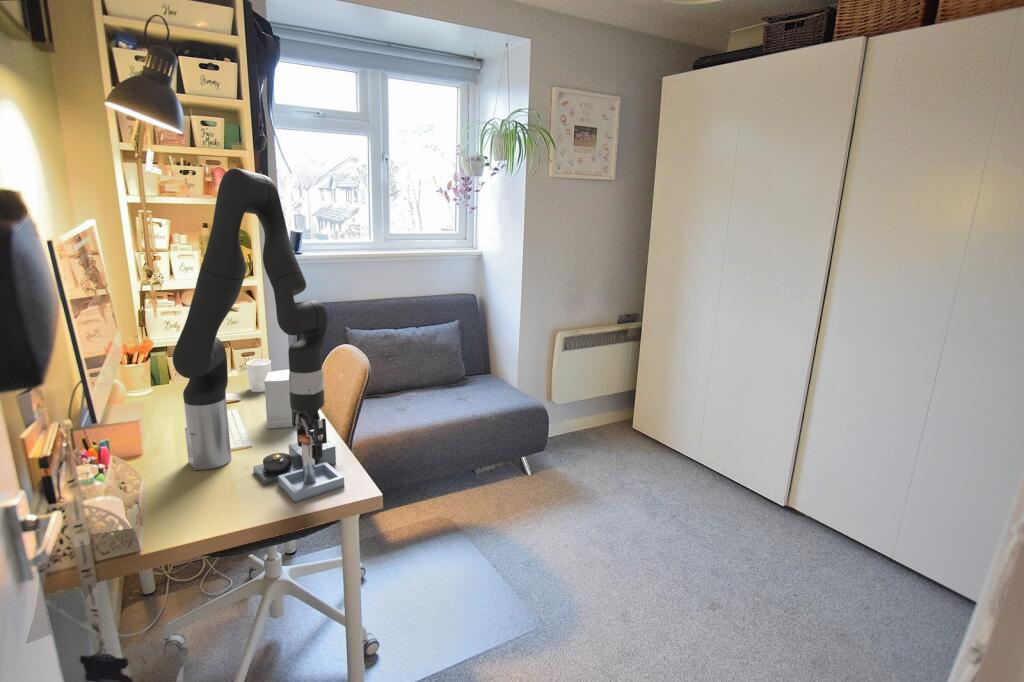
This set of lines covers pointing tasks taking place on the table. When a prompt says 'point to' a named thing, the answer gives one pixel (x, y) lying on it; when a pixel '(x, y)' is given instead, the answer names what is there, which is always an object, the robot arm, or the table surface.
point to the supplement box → (278, 400)
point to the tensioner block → (290, 462)
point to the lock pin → (307, 460)
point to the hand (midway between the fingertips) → (309, 451)
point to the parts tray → (324, 483)
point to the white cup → (258, 373)
